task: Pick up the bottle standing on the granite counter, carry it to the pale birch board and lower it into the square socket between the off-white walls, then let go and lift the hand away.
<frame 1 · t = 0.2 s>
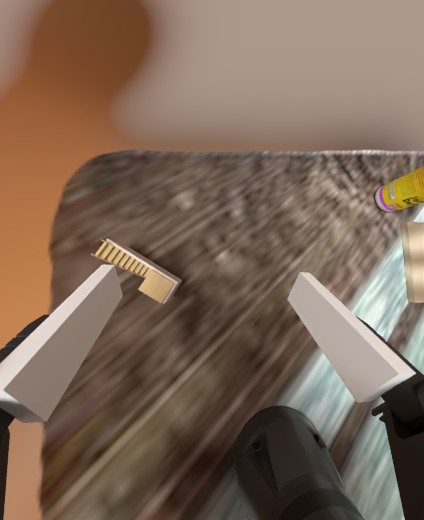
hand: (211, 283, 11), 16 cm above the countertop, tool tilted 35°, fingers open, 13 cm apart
model: (151, 271, 27), on the countertop
supplement bottle: (384, 200, 32), on the countertop
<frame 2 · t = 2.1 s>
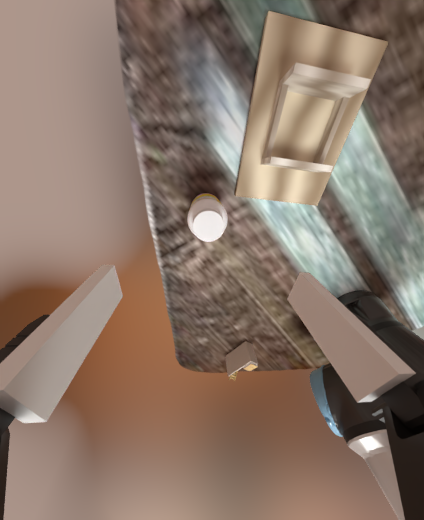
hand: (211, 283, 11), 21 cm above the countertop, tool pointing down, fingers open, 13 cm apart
model: (238, 348, 55), on the countertop
bottle dock: (295, 133, 24), on the countertop
supplement bottle: (206, 208, 29), on the countertop
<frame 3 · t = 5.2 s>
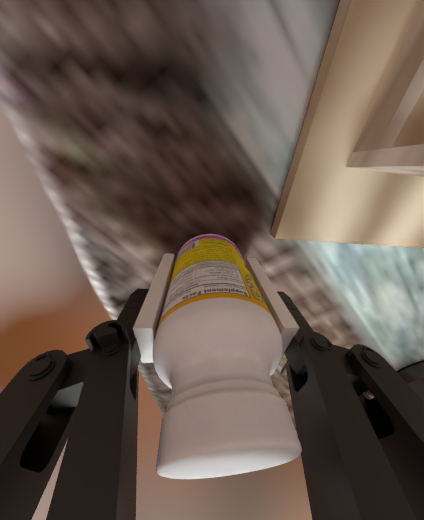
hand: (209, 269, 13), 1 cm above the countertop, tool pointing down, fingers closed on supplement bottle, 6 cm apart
supplement bottle: (208, 260, 14), on the countertop, touching gripper
when the fingers open (4 cm above the countertop, at t = 10.6 s): supplement bottle drops 2 cm, resting on bottle dock.
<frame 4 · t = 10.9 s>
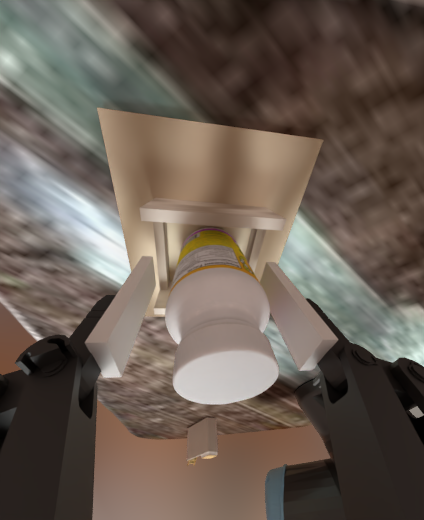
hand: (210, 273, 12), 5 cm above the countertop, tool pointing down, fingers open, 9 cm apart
model: (201, 420, 48), on the countertop
bottle dock: (207, 247, 17), on the countertop
supplement bottle: (209, 252, 16), point 1 cm above the countertop, touching bottle dock
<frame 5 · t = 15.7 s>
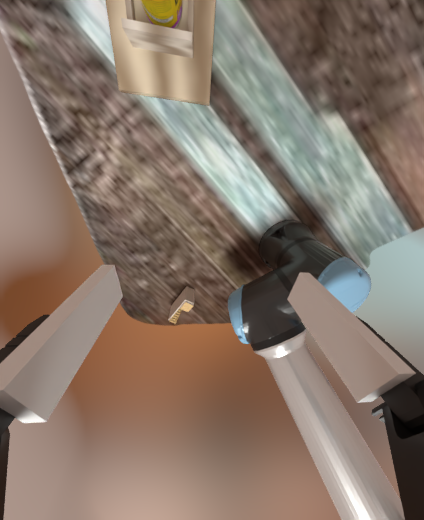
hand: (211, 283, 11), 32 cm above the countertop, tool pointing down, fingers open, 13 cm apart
model: (183, 296, 55), on the countertop
bottle dock: (162, 9, 24), on the countertop
supplement bottle: (163, 6, 23), point 1 cm above the countertop, touching bottle dock
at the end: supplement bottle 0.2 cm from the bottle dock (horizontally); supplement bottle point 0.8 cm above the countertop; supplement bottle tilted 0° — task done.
